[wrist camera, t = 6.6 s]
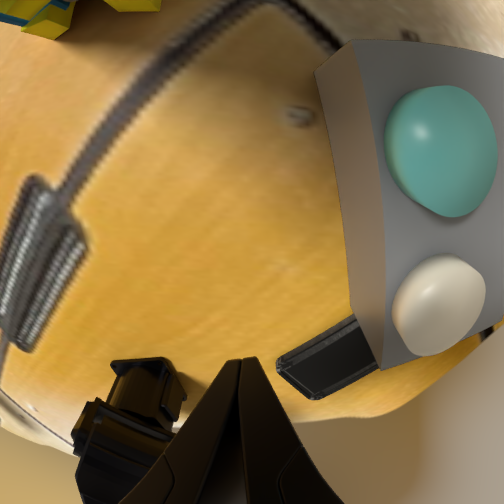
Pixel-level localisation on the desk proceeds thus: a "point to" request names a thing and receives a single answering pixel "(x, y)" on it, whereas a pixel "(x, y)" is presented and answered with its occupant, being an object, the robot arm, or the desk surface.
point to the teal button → (441, 149)
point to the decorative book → (57, 13)
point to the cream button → (437, 303)
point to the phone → (328, 360)
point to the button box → (388, 193)
